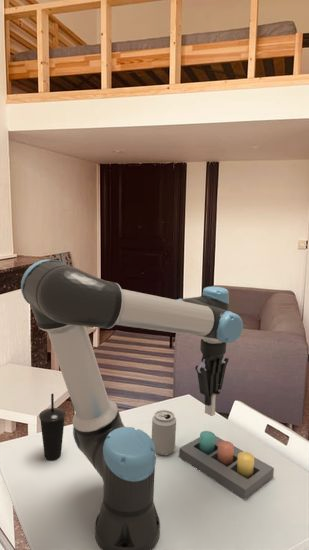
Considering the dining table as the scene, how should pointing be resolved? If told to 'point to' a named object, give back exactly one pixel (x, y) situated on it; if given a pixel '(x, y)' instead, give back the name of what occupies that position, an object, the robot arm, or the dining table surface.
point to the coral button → (225, 453)
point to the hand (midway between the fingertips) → (209, 413)
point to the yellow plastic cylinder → (245, 464)
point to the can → (164, 432)
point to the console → (226, 469)
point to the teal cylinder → (207, 442)
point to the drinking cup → (52, 431)
